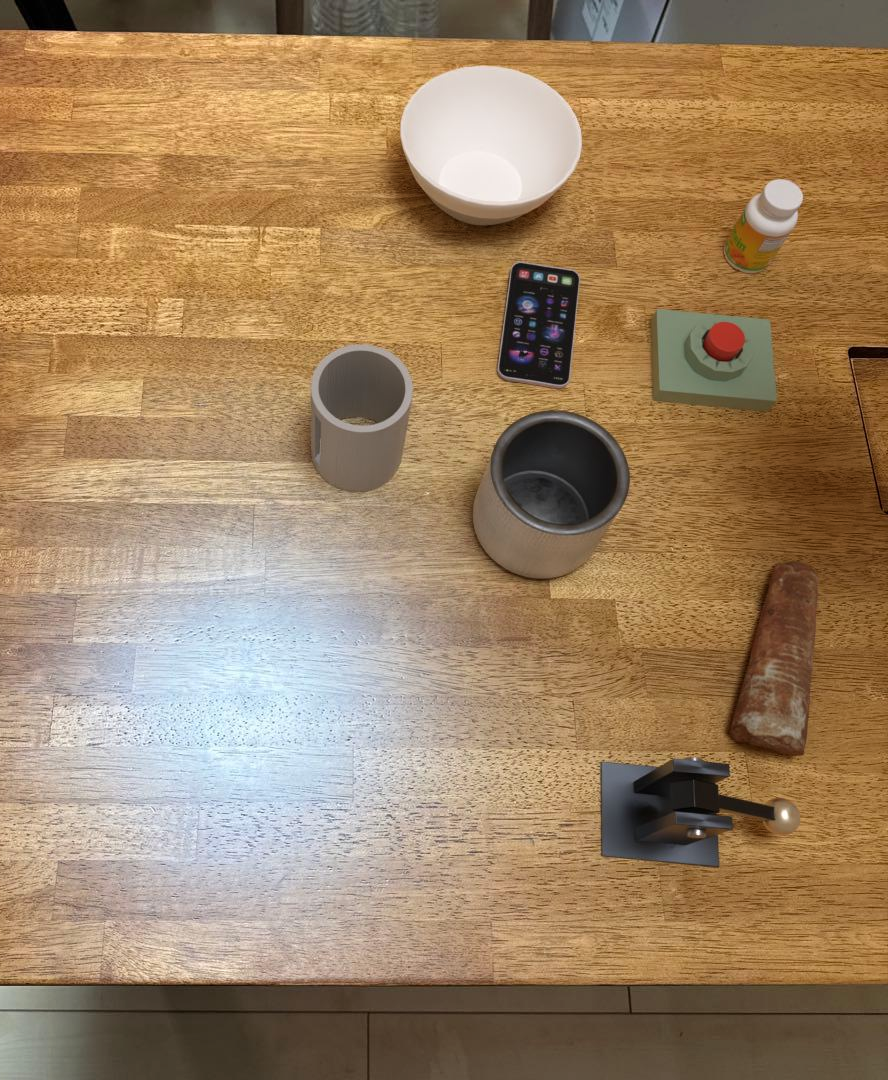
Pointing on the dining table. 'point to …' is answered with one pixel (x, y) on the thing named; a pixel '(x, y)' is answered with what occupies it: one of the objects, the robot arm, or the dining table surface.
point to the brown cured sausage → (780, 664)
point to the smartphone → (539, 325)
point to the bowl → (489, 142)
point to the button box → (711, 362)
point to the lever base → (658, 813)
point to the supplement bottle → (763, 227)
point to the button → (724, 341)
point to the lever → (733, 805)
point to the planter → (549, 493)
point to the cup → (359, 391)
